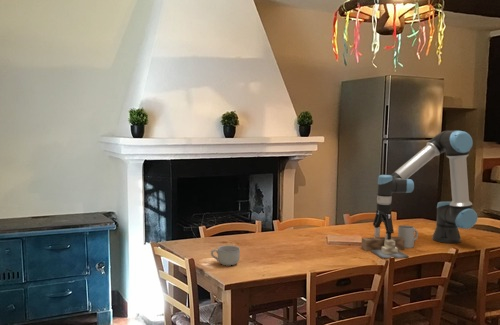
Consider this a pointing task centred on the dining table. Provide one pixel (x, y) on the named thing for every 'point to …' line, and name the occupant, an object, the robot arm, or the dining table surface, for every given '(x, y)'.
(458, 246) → the dining table surface
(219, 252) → the teacup
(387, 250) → the fulcrum
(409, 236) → the mug
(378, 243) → the beam
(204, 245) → the dining table surface
